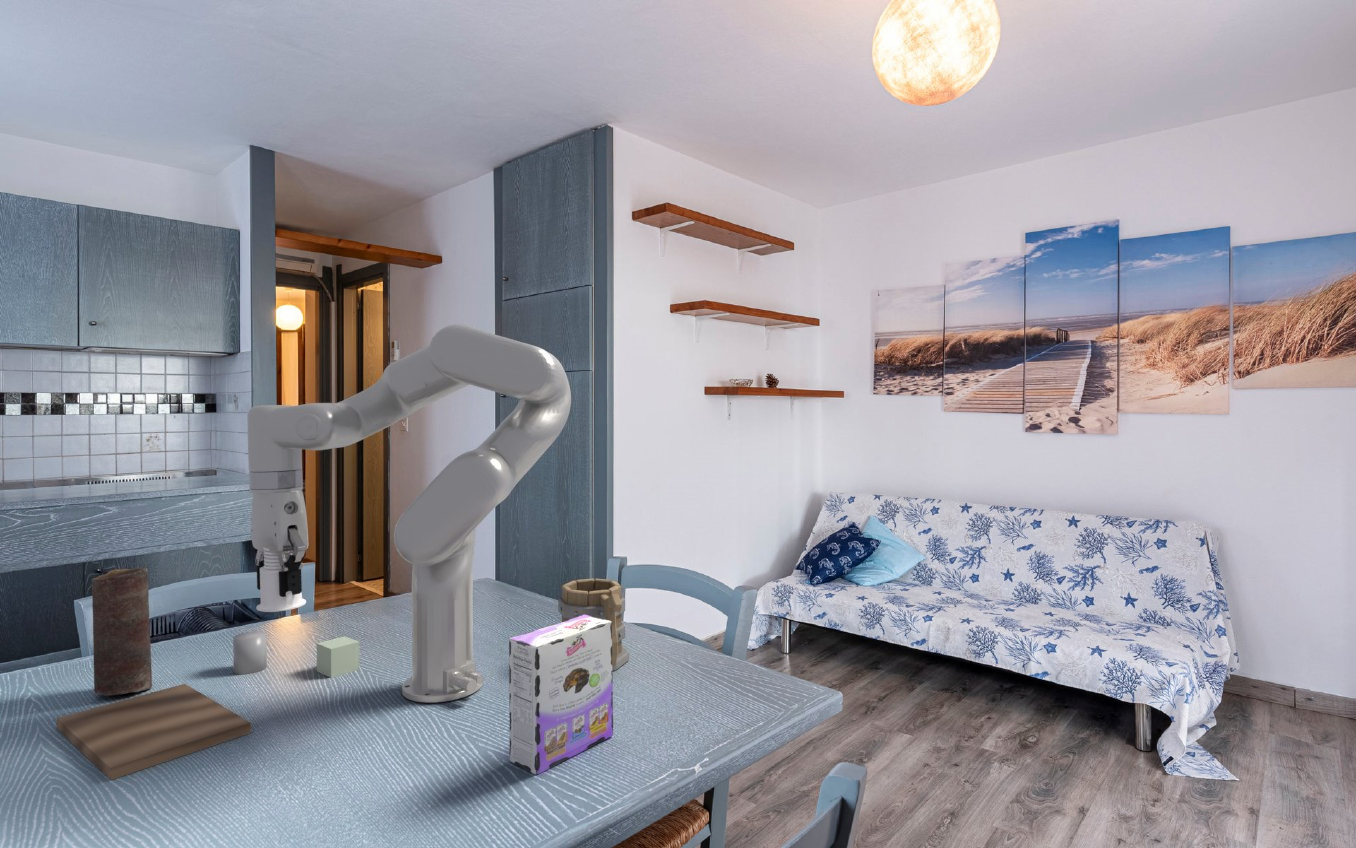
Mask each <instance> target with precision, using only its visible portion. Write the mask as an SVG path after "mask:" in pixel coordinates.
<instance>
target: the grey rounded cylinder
mask: <svg viewBox="0 0 1356 848" xmlns="http://www.w3.org/2000/svg"><path fill="white" fill-rule="evenodd" d="M232 638H233V639H232V647H233V652H232V653H233V658H232V659H233V662H232V663H233V674H235V675H240V676H241V675H250V674H251V675H252V674H256V673H258V672H262V671H264V670H266V669H267V664H268V663H267V658H268V657H267V632H266V631H263V630H261V631H260V630H257V631H256V630H255V631H248V632H242V633H239V634H236V635H234V636H233V637H232Z"/></svg>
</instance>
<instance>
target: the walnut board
mask: <svg viewBox="0 0 1356 848" xmlns="http://www.w3.org/2000/svg"><path fill="white" fill-rule="evenodd" d="M56 729H57V730H58V731H59V732H60V734H62V735H63V736H64V737H65V738H66V739H67V740H68V741H69V742H70V743H71V744H72V745H73V746H75V748H77V750H79V752H81V753H82V754H83V755H84V756H85V757H86V758H87V759H88V760H90V762H92V764H93V765H95V766H96V767H97V768H98V769H99V770H100V771H101V772H102V773H103V774H104V775H105V776H106V777H107V778H108V779H109V780H111V781H112V780H116V779H119V778H121V777H124V776H127V775H130V774H134V773H136V772H139V771H142V770H146V769H148V768H151V767H155V766H157V765H160V764H163V763H165V762H168V761H172V760H175V759H179V758H181V757H184V756H186V755H189V754H192V753H195V752H199V751H201V750H204V749H207V748H210V747H212V746H216V745H219V744H222V743H225V742H228V741H231V740H234V739H237V738H240V737H243V736H246V735H248V734H252V723H251V721H250V720H248V719H246V718H244V717H242V716H240V715H239V714H237V713H235V712H234V711H232V710H230V709H229V708H227V707H225V706H223V705H222V704H220V703H219V702H216V701H215V700H213V699H212V698H210V697H208V696H207V695H205V694H203V693H202V692H200V691H198V690H196V689H195V688H193V687H191V686H190V685H188V684H187V683H183V684H180V685H175V686H171V687H168V688H164V689H160V690H156V691H153V692H150V693H145V694H141V695H138V696H133V697H131V698H126V699H123V700H119V701H115V702H111V703H108V704H104V705H101V706H97V707H94V708H89V709H85V710H81V711H78V712H75V713H71V714H66V715H63V716H58V717H56Z"/></svg>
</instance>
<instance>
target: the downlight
mask: <svg viewBox="0 0 1356 848" xmlns="http://www.w3.org/2000/svg"><path fill="white" fill-rule="evenodd" d="M292 548H293V547H288V548H283V549H284V551H287V550H292ZM264 550H267V551H269V549H267V548H264ZM285 557H286V561H287V560H288V558H289V556H285ZM264 564H265V565H264V566H263V567H261V568H260V590H259V592H260V595H259V596H260V603H259V604H257V605H256V608H255V609H256V610H257V611H259V612H263V613H278V612H284V611H285V612H287V611H291V610H294V609H295V610H296V609H298V608H301V607H303V606H304V605H306V604H307V600H306V599H304V598H303V596H302V595H303V594H302V593H303V592H301V593H300V594H295V595H292V591H288V592H286V597H281V596H280V595H279V572H280V571H282V570H281V566H280V562H279V558H278V555H276V554H273V553H270V552H266V551H264Z"/></svg>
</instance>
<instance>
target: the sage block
mask: <svg viewBox="0 0 1356 848" xmlns="http://www.w3.org/2000/svg"><path fill="white" fill-rule="evenodd" d="M358 670H360V641H359V640H356V639H353V638H351V637H347V636H340V637H337V638H333V639H328V640H324V641H320V642H317V643H316V671H317V673H320V674H322V675H324V676H327V677H328V678H331V679H333V678H335V677H339V676H342V675H344V674H349V673H352V672H354V671H355V672H356V671H358Z"/></svg>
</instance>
